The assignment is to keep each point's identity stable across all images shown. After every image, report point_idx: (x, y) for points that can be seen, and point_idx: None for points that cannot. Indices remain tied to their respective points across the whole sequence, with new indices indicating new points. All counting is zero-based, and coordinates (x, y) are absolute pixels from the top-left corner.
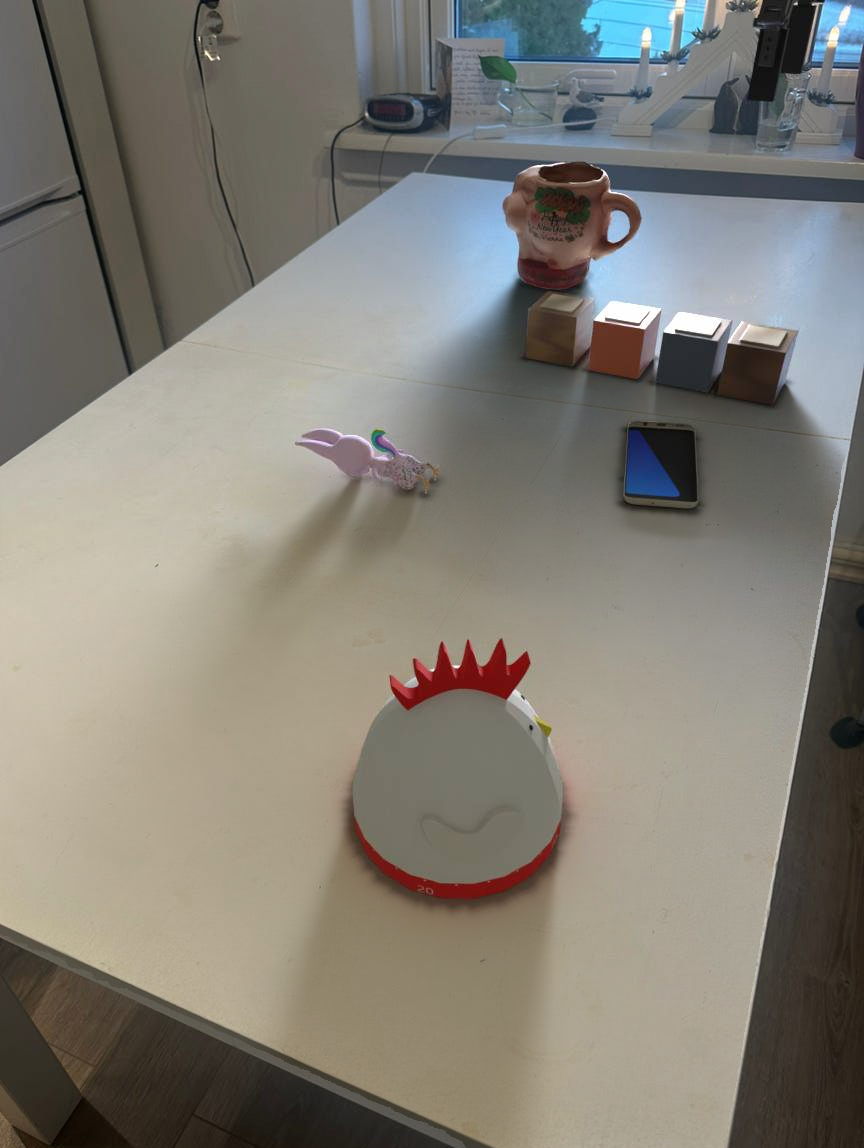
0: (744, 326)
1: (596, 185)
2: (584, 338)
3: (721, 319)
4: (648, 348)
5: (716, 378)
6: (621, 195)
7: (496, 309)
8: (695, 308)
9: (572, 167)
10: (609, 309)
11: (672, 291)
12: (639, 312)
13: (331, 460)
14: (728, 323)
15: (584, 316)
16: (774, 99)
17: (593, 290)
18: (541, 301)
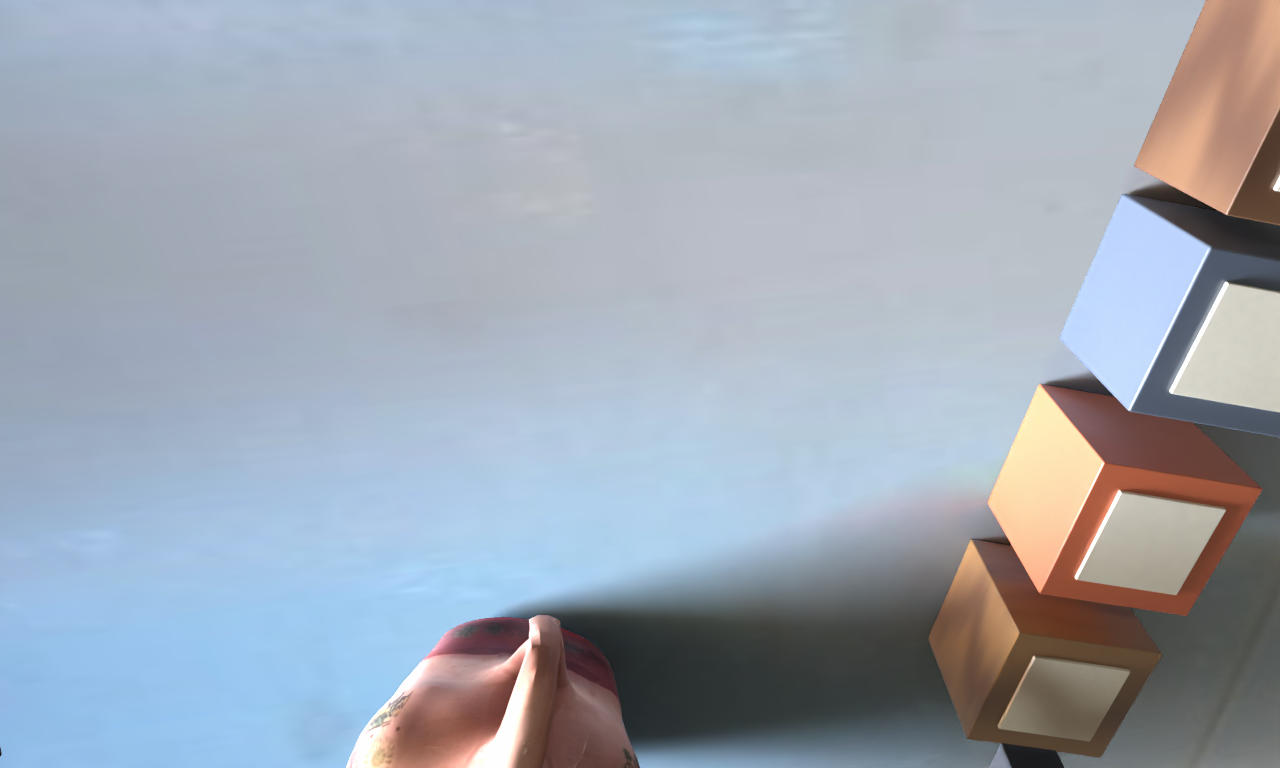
0: (1270, 204)
1: None
2: None
3: (1203, 282)
4: (1142, 427)
5: (1188, 206)
6: (522, 766)
7: (761, 755)
8: (655, 308)
9: None
10: (1107, 590)
11: (532, 386)
12: (1144, 517)
13: None
14: (1242, 258)
15: (1091, 628)
16: (1010, 749)
17: (582, 583)
18: (1044, 741)
